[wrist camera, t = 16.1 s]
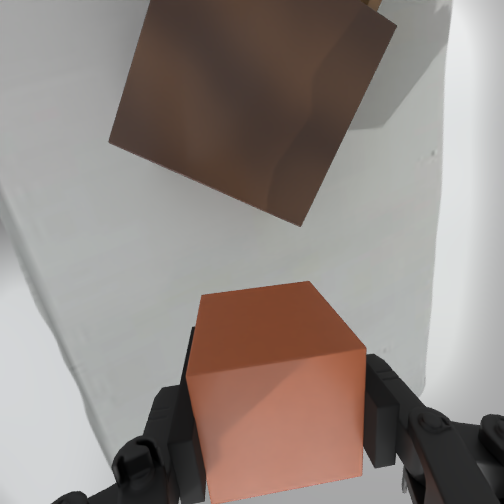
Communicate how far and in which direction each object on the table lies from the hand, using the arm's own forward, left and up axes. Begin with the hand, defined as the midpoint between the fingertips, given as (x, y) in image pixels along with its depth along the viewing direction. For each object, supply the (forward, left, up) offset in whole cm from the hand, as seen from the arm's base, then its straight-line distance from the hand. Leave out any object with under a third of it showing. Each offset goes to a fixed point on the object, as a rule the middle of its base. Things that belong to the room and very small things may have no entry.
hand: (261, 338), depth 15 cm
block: (0, 0, 0) cm, 0 cm away
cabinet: (-15, +2, -16) cm, 22 cm away
